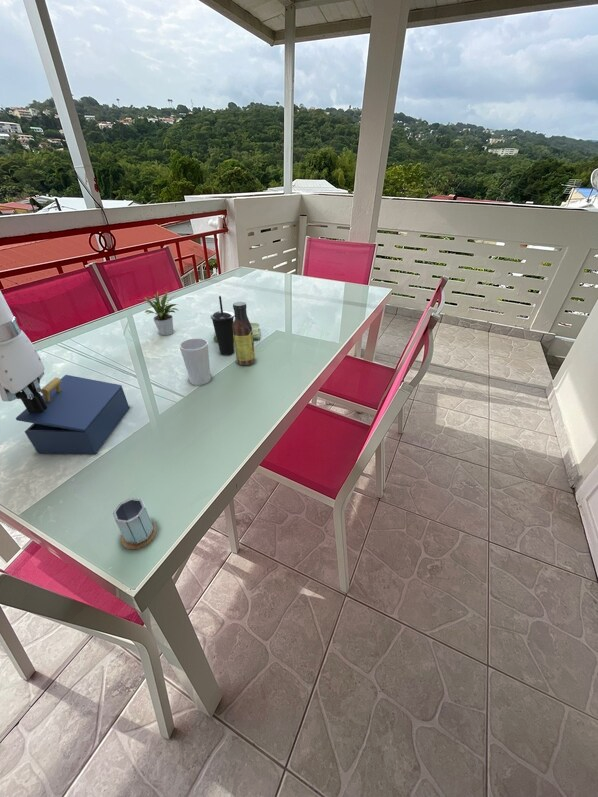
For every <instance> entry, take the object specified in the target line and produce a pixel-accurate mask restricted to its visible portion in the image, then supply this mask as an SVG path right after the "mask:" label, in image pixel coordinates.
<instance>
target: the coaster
mask: <svg viewBox="0 0 598 797" xmlns="http://www.w3.org/2000/svg"><path fill="white" fill-rule="evenodd" d="M151 523H152V525H153V533H152V535H151V536H150V538H149V539H148V540H146V541H145V542H143V543H141V544H138V545H131V544H129V543H127V542H126V541H125V539H124V537H123V535H122V534H121V538H120V539H121V544H122V546H123V548H125V549H127V550H131V551H135V550H141V549H142V548H144V547H146V546H148V545H149V544H150V543H151V542H152V541H153V540H154V538H155V536H156V533H157V527H156V524H155V523H154V522H153V521H152V520H151Z"/></svg>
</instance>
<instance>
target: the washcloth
mask: <svg viewBox="0 0 598 797" xmlns="http://www.w3.org/2000/svg"><path fill="white" fill-rule="evenodd" d="M250 324H251V326H252V332H253V341H255V340H259V339H260V337H261V336H260V334H261V329H260V323H257V322H250ZM213 340H214V342H217V338H216V333H215V332H214V334H213Z"/></svg>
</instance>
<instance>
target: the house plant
mask: <svg viewBox="0 0 598 797" xmlns="http://www.w3.org/2000/svg"><path fill="white" fill-rule="evenodd" d="M168 293H169V291H166V292H165V293H164V294H163V296H162V298H161V300H160V297H159V290H157V292H156V294H153V296H154V299H155V300H154V299H153V298H152V297H151V296H149V298H150V299H149V298H148V297H147V295H145V296H144V297H143V299H140V298H139V300H141V301H142V300H144V301H146V303H147V304H149V306H151V307H152V308H153V310H154V311H155V312H154V311H153V310H150V309H147V310H144V311H145V312H144V313H146V315H148V314H154V315H155V316H154V317H153V323H154V324H155V326H156V329H157V331H158V333H159V335H161V336H169V335H172V334H173V333H174V318H173V315H172V314H170V313H175V314H176V311H177V312H179V309H178V308H176V307H174V306H178V304H176V303H172V302H171V303H170V301H172V299H173V298H174V297H175V295H172V296H171V297H170V298H169V299H168ZM167 299H168V300H167Z"/></svg>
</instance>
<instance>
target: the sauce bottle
mask: <svg viewBox="0 0 598 797" xmlns="http://www.w3.org/2000/svg"><path fill="white" fill-rule="evenodd" d="M232 308H233V312H234V313H233V314H234V319H233V337H234V353H235V359H236V362H237V364H238V365H241V366H249V365H252V364H254V363H255V361H256V360H255V359H256V358H255V357H256V352H255V343H254V340H253V332H252V326H251V324H250V323H251V321H250V320H249V317H248V315H247V303H246V302H245V301H244V302H243V301H236V302H234V303H232Z"/></svg>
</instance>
